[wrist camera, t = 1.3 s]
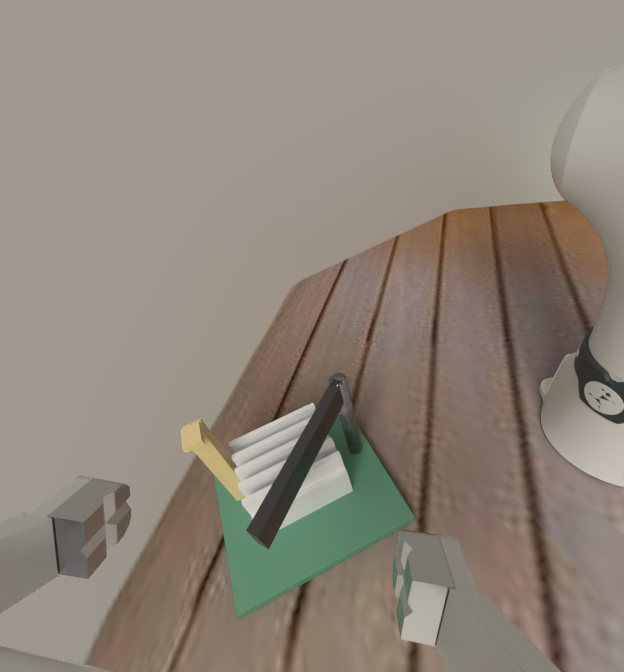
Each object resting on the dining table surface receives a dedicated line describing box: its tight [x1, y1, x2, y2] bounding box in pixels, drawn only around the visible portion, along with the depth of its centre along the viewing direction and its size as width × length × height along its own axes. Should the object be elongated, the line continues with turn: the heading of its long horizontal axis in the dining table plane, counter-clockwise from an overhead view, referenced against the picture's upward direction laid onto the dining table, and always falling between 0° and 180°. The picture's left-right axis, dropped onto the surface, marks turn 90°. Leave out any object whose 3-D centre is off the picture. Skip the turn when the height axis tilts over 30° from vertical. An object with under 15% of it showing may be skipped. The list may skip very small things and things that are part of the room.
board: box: [181, 403, 415, 618], centre depth 39 cm, size 22×18×17 cm
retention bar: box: [246, 373, 363, 549], centre depth 37 cm, size 18×2×14 cm, turn 152°
